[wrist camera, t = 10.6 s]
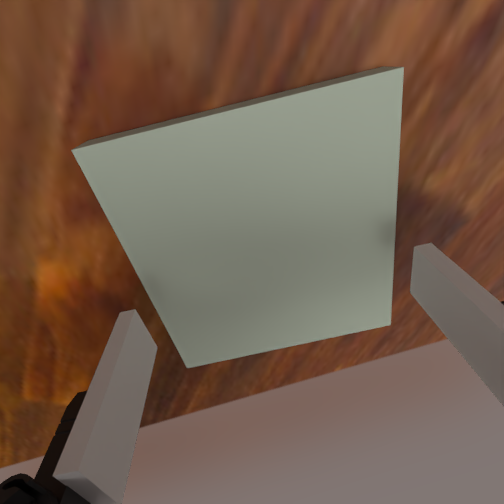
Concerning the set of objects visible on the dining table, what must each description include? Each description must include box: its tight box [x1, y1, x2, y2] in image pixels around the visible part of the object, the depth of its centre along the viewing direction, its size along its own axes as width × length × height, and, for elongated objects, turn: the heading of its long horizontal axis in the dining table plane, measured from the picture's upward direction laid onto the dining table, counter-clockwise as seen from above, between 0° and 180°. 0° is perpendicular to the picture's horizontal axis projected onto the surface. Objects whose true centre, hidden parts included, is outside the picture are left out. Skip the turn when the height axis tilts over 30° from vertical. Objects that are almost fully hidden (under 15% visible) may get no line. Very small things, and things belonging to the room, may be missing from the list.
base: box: [71, 67, 404, 368], centre depth 18 cm, size 15×16×2 cm
